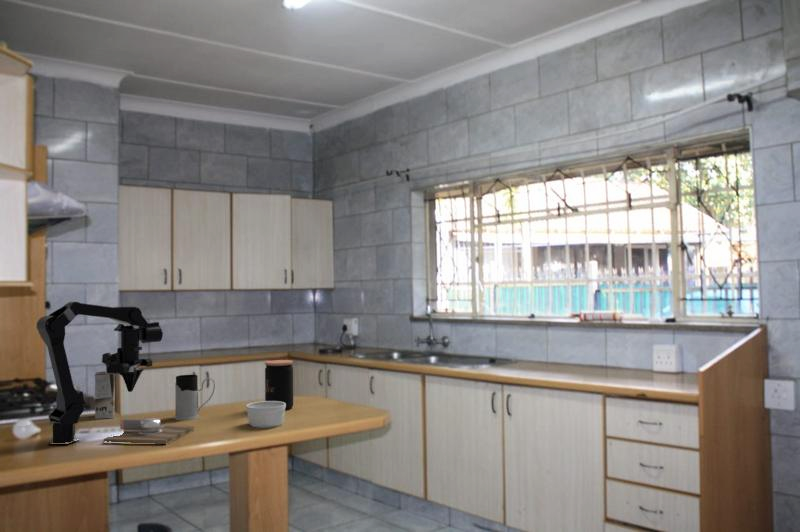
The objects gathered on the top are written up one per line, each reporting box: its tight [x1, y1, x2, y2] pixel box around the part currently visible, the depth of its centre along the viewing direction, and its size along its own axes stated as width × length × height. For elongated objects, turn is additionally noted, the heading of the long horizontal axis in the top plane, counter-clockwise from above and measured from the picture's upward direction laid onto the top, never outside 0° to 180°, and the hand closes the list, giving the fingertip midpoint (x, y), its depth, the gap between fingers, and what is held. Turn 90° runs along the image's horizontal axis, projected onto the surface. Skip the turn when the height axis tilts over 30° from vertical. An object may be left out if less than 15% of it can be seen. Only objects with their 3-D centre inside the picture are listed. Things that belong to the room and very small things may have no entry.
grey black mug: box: [173, 374, 216, 421], centre depth 249 cm, size 9×14×15 cm, turn 113°
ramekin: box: [245, 400, 286, 429], centre depth 235 cm, size 13×13×7 cm
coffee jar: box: [264, 359, 294, 411], centre depth 263 cm, size 11×11×18 cm
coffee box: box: [94, 370, 116, 420], centre depth 252 cm, size 9×6×16 cm
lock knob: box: [120, 417, 162, 433], centre depth 218 cm, size 12×6×3 cm, turn 84°
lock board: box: [103, 424, 195, 444], centre depth 218 cm, size 20×20×2 cm
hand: (130, 391), depth 227 cm, fingers closed
